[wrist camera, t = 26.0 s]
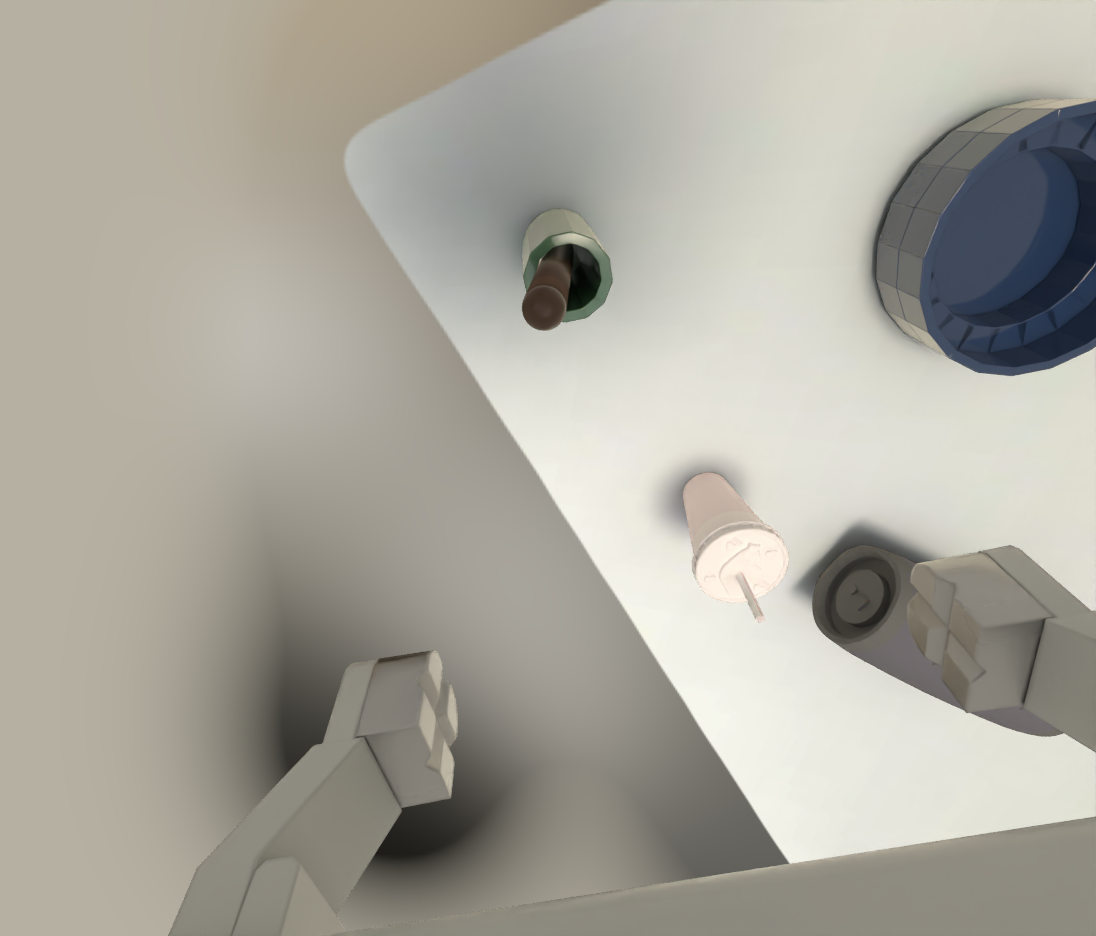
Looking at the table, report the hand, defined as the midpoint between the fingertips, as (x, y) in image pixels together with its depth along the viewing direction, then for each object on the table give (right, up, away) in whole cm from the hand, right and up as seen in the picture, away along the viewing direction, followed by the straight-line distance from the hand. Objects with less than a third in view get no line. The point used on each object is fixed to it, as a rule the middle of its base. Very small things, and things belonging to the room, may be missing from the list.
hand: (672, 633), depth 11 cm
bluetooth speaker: (+31, -9, +47) cm, 57 cm away
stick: (-1, +17, +30) cm, 35 cm away
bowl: (+27, +18, +31) cm, 45 cm away
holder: (-1, +17, +31) cm, 35 cm away
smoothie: (+11, +1, +41) cm, 42 cm away
